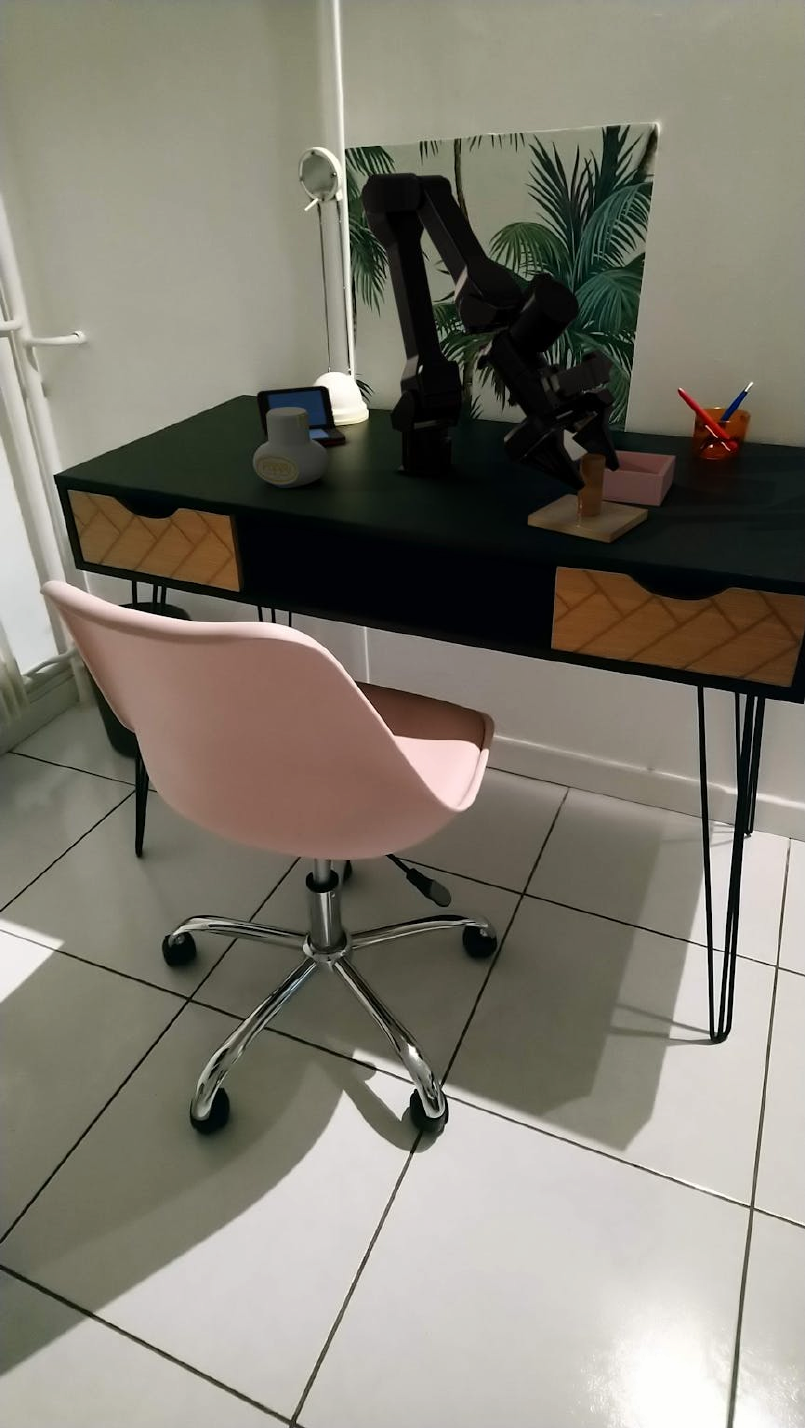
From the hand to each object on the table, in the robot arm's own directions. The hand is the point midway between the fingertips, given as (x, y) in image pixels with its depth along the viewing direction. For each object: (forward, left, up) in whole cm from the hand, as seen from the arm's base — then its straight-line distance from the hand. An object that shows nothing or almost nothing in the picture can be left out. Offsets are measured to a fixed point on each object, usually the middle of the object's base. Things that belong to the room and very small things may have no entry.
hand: (600, 478), depth 110 cm
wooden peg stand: (-1, 0, -6) cm, 6 cm away
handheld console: (-55, +23, -6) cm, 60 cm away
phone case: (-11, +29, -6) cm, 32 cm away
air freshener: (-45, +2, -6) cm, 46 cm away
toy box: (+1, +14, -6) cm, 15 cm away
